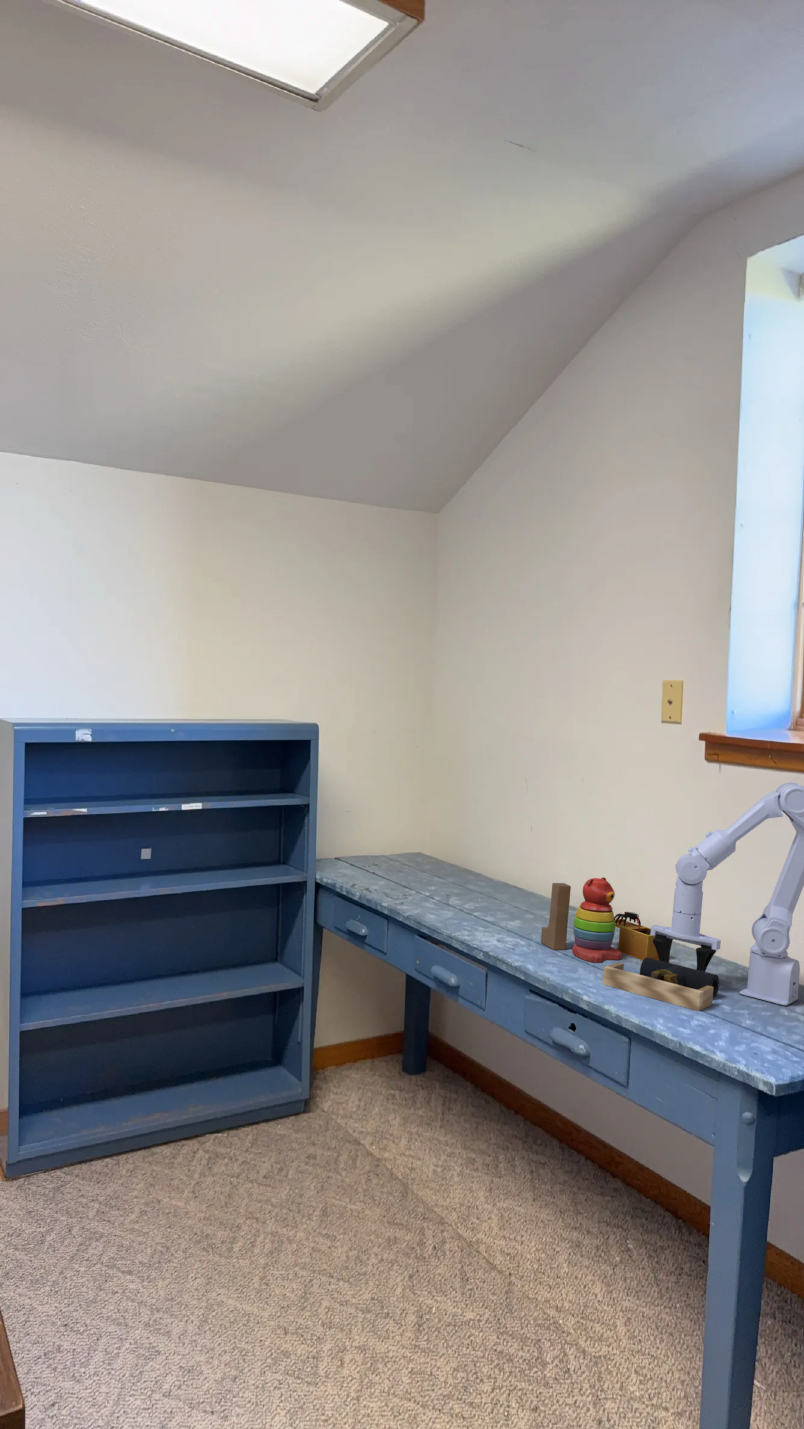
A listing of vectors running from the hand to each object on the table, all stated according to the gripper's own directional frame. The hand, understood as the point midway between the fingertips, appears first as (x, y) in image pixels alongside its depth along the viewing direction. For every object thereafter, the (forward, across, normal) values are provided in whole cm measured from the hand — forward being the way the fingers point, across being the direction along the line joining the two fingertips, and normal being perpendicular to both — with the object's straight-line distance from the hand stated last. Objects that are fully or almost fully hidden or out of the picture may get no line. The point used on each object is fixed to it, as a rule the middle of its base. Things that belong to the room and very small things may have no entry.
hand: (681, 976), depth 199 cm
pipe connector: (+2, -1, +7) cm, 8 cm away
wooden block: (+2, +33, -3) cm, 33 cm away
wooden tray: (+2, 0, +12) cm, 12 cm away
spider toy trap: (+2, +19, -16) cm, 25 cm away
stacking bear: (+2, +23, -4) cm, 23 cm away
